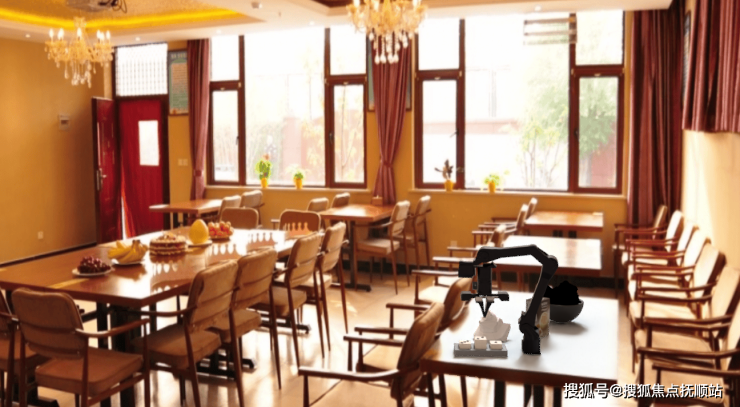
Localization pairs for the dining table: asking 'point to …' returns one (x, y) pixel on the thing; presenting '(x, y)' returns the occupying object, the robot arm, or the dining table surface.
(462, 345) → the key three dots
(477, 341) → the key two dots
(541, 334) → the coffee box
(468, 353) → the key board
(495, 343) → the key one dot
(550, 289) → the coal bowl
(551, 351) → the dining table surface
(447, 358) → the dining table surface
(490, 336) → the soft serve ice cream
